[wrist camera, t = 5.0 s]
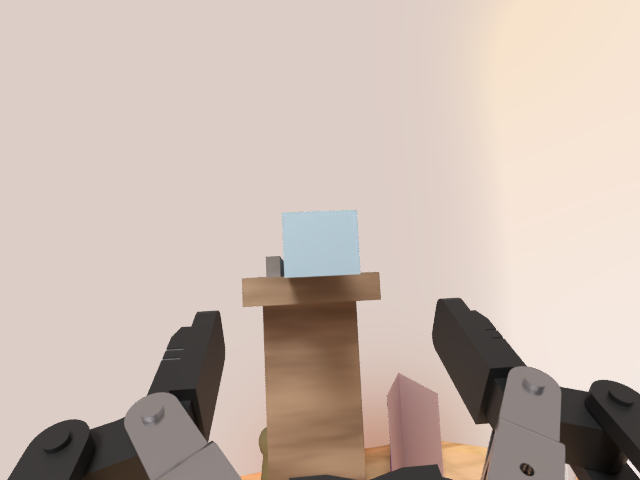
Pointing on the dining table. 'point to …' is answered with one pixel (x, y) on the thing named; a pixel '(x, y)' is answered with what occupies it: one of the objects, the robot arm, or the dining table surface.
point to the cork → (264, 454)
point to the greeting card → (413, 425)
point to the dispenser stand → (312, 370)
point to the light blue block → (320, 243)
